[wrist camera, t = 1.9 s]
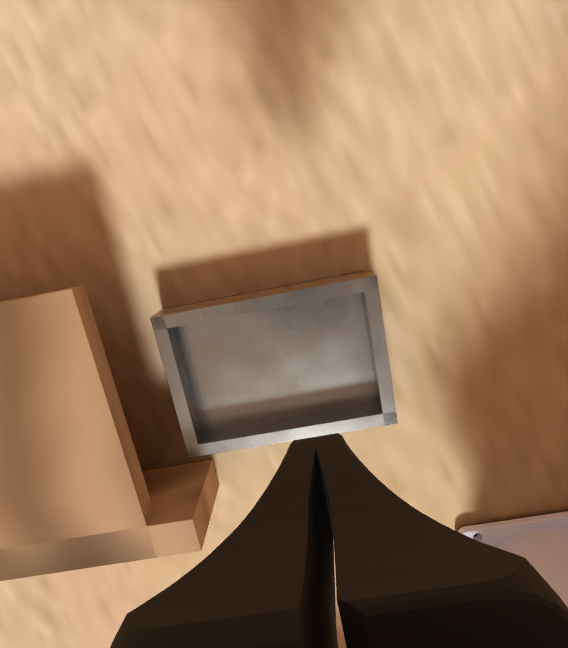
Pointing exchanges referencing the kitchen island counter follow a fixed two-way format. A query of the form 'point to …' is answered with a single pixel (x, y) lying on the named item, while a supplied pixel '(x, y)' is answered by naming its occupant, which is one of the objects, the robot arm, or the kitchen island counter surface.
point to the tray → (278, 364)
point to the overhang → (80, 452)
